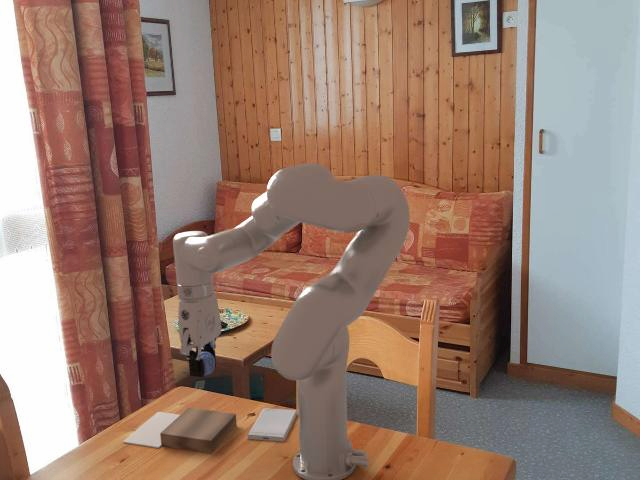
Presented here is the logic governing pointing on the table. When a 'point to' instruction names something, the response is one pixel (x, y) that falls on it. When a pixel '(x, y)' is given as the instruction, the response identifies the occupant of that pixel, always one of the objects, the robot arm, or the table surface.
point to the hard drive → (272, 424)
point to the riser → (198, 430)
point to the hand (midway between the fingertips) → (203, 370)
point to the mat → (151, 430)
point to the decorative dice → (208, 362)
